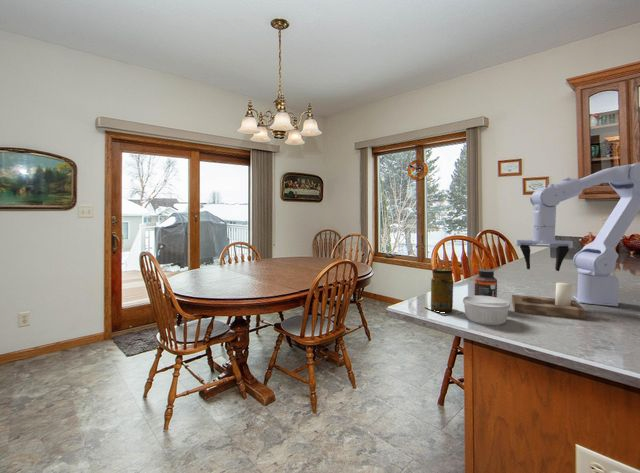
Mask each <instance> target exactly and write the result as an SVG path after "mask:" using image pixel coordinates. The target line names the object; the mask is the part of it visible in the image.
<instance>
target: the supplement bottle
mask: <svg viewBox="0 0 640 473" xmlns="http://www.w3.org/2000/svg"><path fill="white" fill-rule="evenodd" d="M476 295H478V296H491V297H497V298H498V279H497V278H496V277H495V272H494V270H492V269H486V268H485V269H484V268H483V269H482V268H481V269H478V276H475V278H474V296H476Z"/></svg>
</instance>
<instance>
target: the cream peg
mask: <svg viewBox="0 0 640 473" xmlns="http://www.w3.org/2000/svg"><path fill="white" fill-rule="evenodd" d="M572 286H573V285H572V283H567V282H555V297H554V299H555V305H563V306H571V300H572V290H573V289H572V288H573V287H572Z"/></svg>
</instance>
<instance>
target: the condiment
mask: <svg viewBox="0 0 640 473" xmlns="http://www.w3.org/2000/svg"><path fill="white" fill-rule="evenodd" d="M430 281H431V282H430V307H431V309H432V310H435V311H433V312H435V313H437V312H436V311H439V313H437V314H440V315H442V316H450V315H458V314H465V311H464V312H463V311H461V310H458V309H455V308H453V307H454V306H453V305H454V280H453V270H452V269H449V268H441V267H438V268H437V267H436V268H434V269H432V278H431V280H430ZM440 312H445V313H440Z"/></svg>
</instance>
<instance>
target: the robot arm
mask: <svg viewBox="0 0 640 473" xmlns="http://www.w3.org/2000/svg"><path fill="white" fill-rule="evenodd" d="M607 183H608V184H609V185H610V187H611V188H612V189H613V190H614V192H615V193H616V194H617V195H618V196H619V197H620V199H619V200H618V202H617V204H616V205H615V206H614V208H613V210H612V212H611V213H610V215H609V216H608V217H607V219H606V220H605V222H604V223H603V226H602V227H601V228H600V230H599V232H598V233H597V235H596V237H595V238H594V239H593V241H591V242H590V243H587V244H586V245H584V246H583V247H582V249H581V250H579V251H578V252H577V253H575V254H574V256H573V258H572V263H573V265H574V267H575V268H576V270H577V271H576V272H578V273H577V289H576V290H577V294H576V295H573V296H572V298H573V299H574V300H575V301H576V302H577V303H578V304H579V303H580V304H591V305H598V306H599V305H602V306H609V307H610V306H612V307H619V285H620V284H619V279H618V277H617V276H616V275H614V274H611V273H612V272H614V270H615V269H616V266H617V259H618V258H619V254H618V253H617V251H616V248H617V247H618V245H619V243H620V241H621V240H622V238H624V236H625V234H626V232H627V231H628V229H629V227H630V226H631V224H632V223H633V221H634V219H635V218H636V217H637V215H638V214H639V212H640V161H639V162H636V163H632V164H625V165H616V166H613V167H607V168H605V169H604V168H603V169H601V170H599V171H596V172H595V173H594V172H593V173H592V174H590V175H587V176H584V177H582V178H579V179H578V178H574V177H565V178H562V181H560V182H557V183H555V184H554V183H550V184H548V185H547V187H545V188H538V189H536V190H534V191H533V193H532V194H531V197H529V201H530V204H531V205H532V206H533V223H532V224H533V226H532V228H533V229H532V239H516V247H519V248H520V250H521V253H522V255H523V258H524V260H525V264H526V266H525V267H526V270H531V250H532V249H531V247H540V248H541V247H545V248H555V254H556V258H555V266H554V267H555V271H556V272H560V271H561V270H560V269H561V266H562V263H563V261H564V259H565V257H566V255H567V254H568V253H569V251H570V249H573V248H574V241H572V240H556V222H557V221H556V220H557V219H556V218H557V206H558V205H559V204H560V203H561V202H563V201H566V200H570V199H572V198H575V197H578V196H580V195H581V194H582V193H583V190H585V189H588V188H591V187H595V186H598V185H601V184H607Z"/></svg>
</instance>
